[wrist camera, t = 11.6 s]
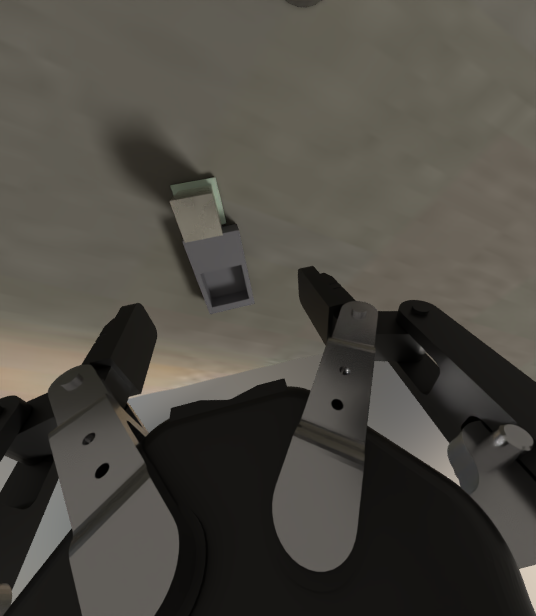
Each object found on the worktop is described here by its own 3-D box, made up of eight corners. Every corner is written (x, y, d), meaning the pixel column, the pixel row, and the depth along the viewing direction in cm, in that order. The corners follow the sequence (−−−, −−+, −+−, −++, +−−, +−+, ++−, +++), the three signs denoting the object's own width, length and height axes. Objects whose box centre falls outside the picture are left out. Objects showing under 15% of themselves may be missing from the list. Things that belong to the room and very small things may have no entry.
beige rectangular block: (178, 190, 29) (169, 201, 23) (211, 184, 30) (212, 193, 23) (190, 225, 32) (184, 242, 25) (220, 219, 32) (222, 235, 26)
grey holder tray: (184, 234, 33) (182, 241, 30) (236, 223, 34) (238, 230, 31) (210, 303, 41) (209, 314, 38) (251, 293, 41) (254, 303, 39)
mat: (170, 185, 29) (170, 185, 29) (215, 177, 30) (215, 177, 29) (186, 230, 33) (186, 231, 32) (226, 222, 33) (226, 223, 33)
